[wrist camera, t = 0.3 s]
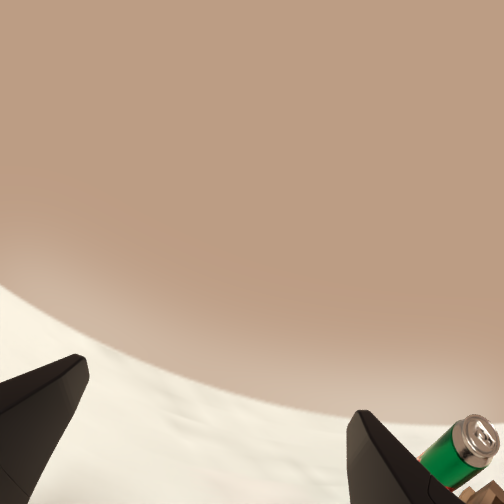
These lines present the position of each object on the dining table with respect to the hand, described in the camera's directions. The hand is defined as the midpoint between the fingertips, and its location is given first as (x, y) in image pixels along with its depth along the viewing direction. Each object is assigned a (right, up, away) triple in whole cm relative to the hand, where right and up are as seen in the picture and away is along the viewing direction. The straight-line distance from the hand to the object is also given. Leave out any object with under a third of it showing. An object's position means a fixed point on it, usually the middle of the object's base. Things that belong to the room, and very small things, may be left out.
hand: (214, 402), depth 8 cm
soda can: (+14, -19, +9) cm, 25 cm away
